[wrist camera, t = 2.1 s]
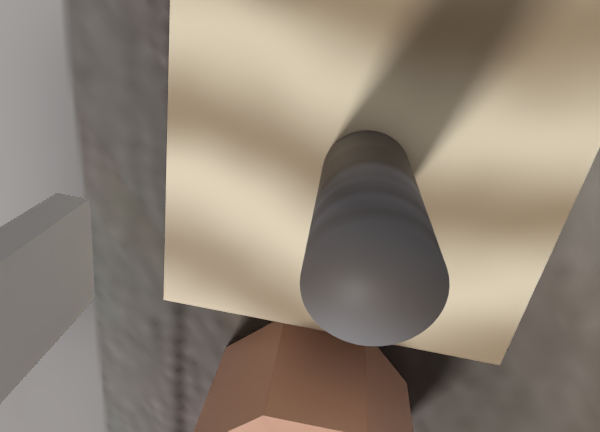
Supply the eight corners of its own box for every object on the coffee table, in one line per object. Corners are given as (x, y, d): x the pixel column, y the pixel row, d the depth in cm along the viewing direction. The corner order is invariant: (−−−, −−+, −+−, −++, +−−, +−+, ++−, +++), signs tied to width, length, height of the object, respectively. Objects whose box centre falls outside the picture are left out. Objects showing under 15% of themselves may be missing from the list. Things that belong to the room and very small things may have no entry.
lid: (203, -85, 17) (-13, -218, 7) (621, -17, 17) (1033, -58, 7) (186, 264, 24) (65, 449, 14) (482, 321, 24) (577, 556, 13)
